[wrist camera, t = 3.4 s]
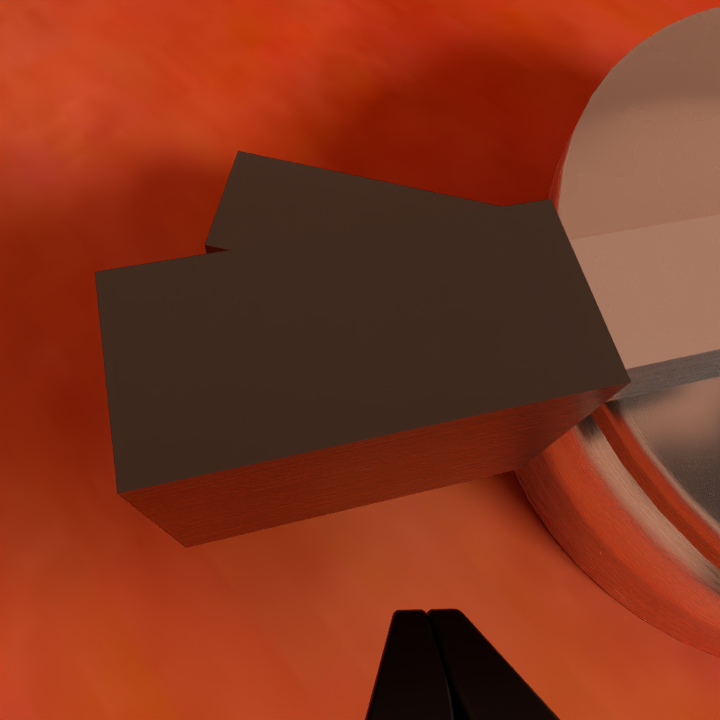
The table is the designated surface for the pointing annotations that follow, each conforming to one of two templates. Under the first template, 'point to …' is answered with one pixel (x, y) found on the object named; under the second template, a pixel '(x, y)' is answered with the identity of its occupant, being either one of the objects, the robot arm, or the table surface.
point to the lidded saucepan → (446, 333)
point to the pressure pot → (549, 468)
